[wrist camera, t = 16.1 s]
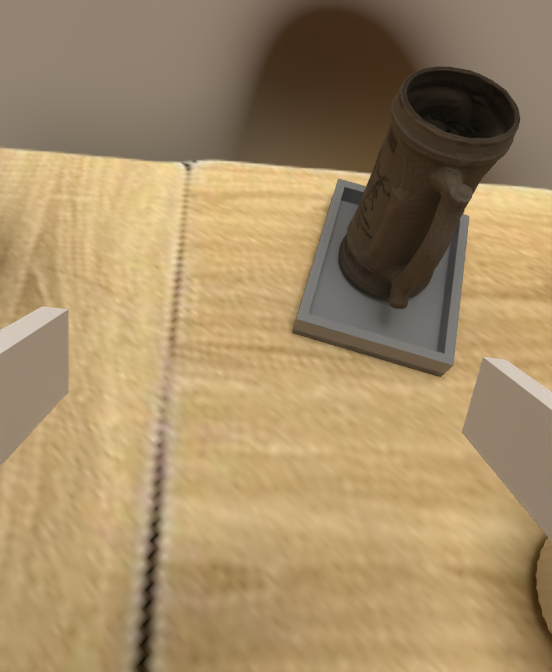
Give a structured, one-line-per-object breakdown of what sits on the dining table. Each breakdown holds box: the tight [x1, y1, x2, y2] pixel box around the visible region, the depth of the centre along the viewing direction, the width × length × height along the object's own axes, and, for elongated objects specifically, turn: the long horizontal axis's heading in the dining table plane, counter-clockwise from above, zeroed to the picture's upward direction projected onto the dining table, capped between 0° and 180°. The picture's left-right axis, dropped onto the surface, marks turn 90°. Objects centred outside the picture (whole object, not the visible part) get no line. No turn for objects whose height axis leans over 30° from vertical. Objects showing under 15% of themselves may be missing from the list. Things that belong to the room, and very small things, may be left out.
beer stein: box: [339, 67, 520, 309], centre depth 44 cm, size 15×11×20 cm
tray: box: [292, 179, 469, 377], centre depth 52 cm, size 16×20×3 cm
